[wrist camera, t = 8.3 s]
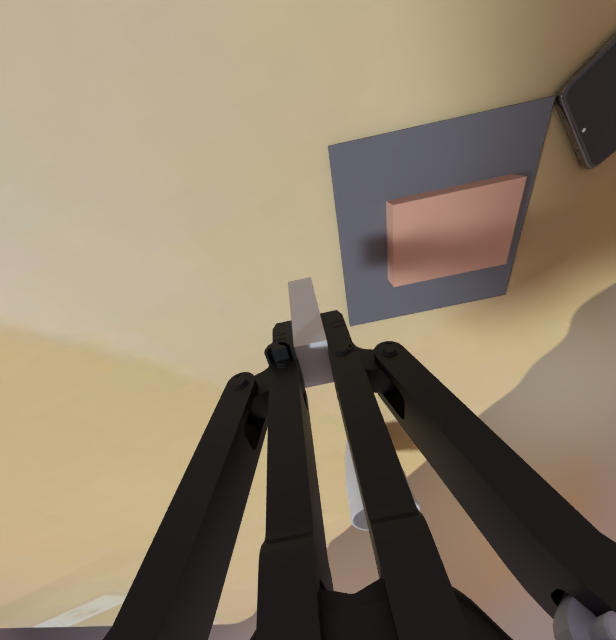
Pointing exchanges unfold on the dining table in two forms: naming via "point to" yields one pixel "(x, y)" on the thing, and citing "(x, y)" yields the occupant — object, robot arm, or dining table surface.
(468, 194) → the slab
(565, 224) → the dining table surface
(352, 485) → the cup
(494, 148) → the mat
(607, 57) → the smartphone
